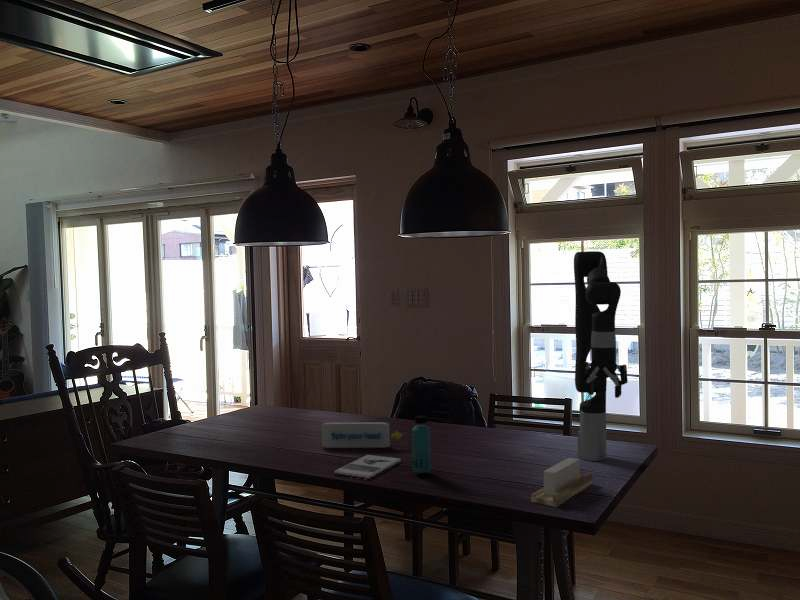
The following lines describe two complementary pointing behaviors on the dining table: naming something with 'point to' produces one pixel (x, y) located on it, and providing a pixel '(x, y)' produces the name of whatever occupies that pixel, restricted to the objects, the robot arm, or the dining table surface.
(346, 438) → the decorative sign
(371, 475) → the book
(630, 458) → the dining table surface
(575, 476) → the white rectangular block
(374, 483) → the dining table surface
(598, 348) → the robot arm
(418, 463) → the beverage bottle
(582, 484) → the wooden grooved tray
